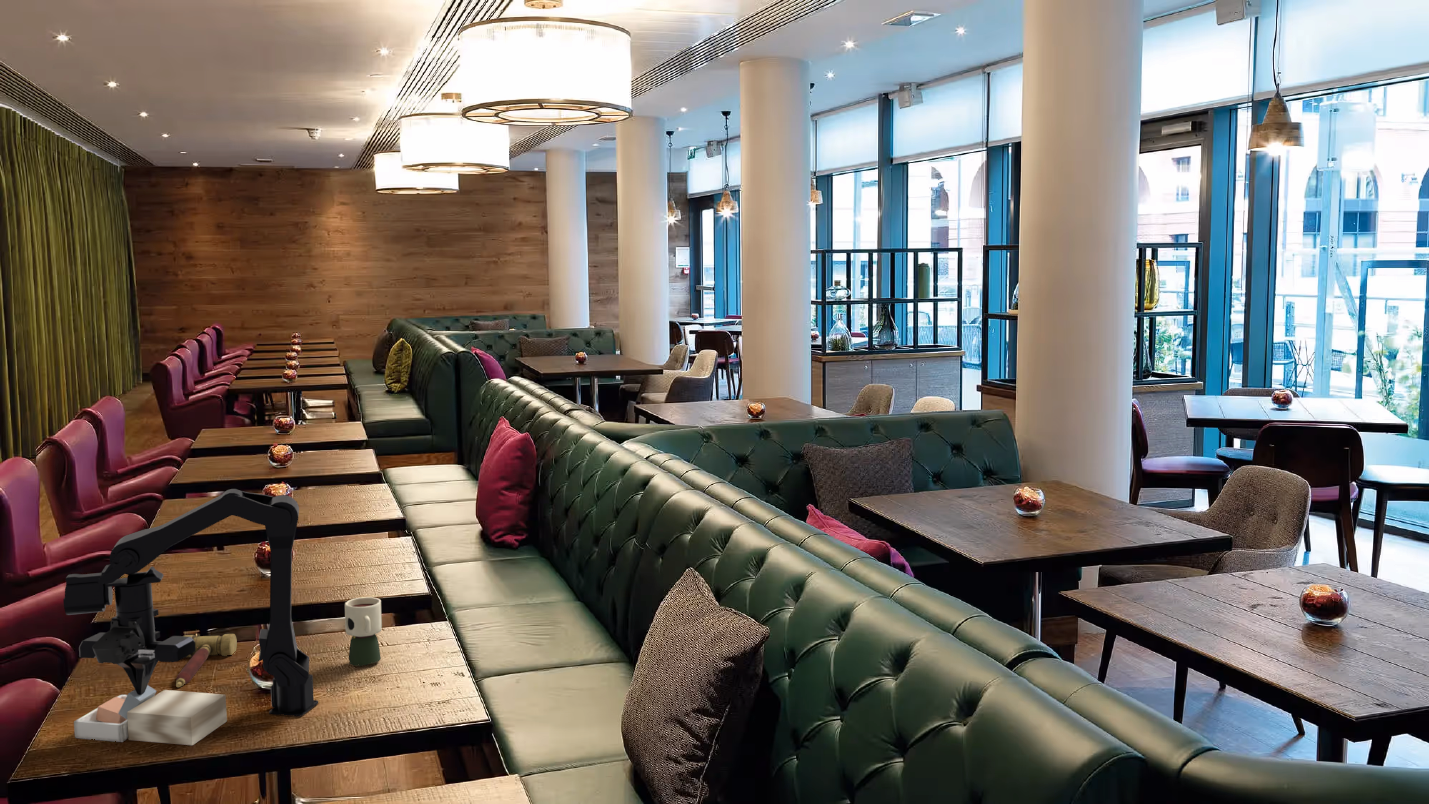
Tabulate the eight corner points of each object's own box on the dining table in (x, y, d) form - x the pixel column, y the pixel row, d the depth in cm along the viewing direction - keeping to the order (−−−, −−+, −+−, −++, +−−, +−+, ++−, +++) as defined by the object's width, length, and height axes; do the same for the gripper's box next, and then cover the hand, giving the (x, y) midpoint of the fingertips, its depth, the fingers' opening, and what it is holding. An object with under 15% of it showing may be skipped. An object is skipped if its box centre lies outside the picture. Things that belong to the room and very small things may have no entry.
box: (166, 713, 201) (166, 698, 201) (122, 742, 190) (121, 725, 189) (122, 710, 203) (121, 694, 202) (75, 738, 191) (73, 721, 191)
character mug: (342, 657, 230) (340, 596, 229) (377, 652, 234) (376, 592, 232) (350, 675, 221) (348, 612, 219) (387, 669, 224) (385, 607, 222)
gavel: (204, 673, 213) (149, 675, 212) (205, 695, 214) (151, 697, 213) (236, 630, 233) (186, 631, 232) (237, 650, 234) (188, 652, 233)
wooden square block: (226, 721, 198) (225, 694, 198) (192, 745, 189) (190, 717, 188) (165, 716, 200) (164, 689, 200) (128, 739, 190) (127, 712, 190)
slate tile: (156, 691, 197) (145, 683, 197) (140, 701, 193) (128, 693, 193) (146, 710, 198) (135, 703, 198) (129, 721, 194) (118, 713, 194)
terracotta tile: (115, 696, 199) (113, 709, 199) (98, 706, 195) (95, 719, 195) (138, 704, 198) (135, 716, 199) (120, 714, 194) (118, 727, 194)
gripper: (52, 620, 186) (59, 709, 188) (153, 625, 183) (160, 715, 185) (98, 600, 197) (105, 684, 199) (194, 604, 194) (200, 690, 196)
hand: (141, 693), depth 195 cm, fingers closed, pressing on slate tile
